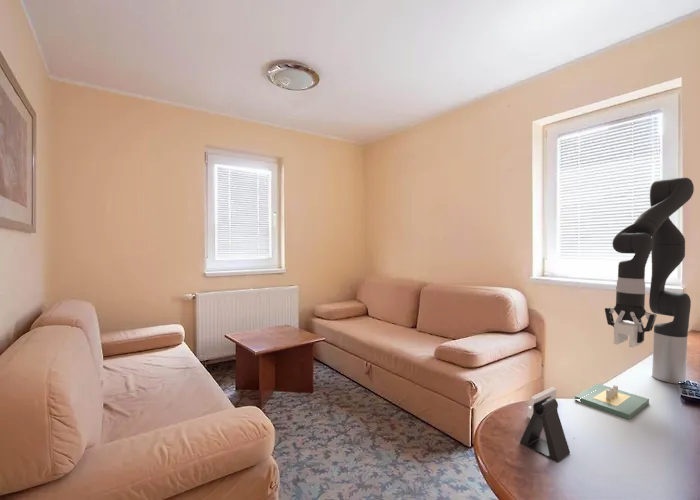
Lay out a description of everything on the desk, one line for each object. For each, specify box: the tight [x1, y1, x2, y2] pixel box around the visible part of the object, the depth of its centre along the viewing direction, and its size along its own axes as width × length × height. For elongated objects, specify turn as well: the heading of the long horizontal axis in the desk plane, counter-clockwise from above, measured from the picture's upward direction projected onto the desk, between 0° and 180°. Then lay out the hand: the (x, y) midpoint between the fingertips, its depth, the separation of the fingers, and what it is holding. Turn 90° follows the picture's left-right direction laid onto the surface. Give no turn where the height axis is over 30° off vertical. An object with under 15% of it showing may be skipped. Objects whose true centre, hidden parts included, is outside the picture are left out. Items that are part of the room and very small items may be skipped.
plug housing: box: [613, 320, 645, 348], centre depth 115 cm, size 10×5×7 cm, turn 125°
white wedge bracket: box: [527, 386, 557, 420], centre depth 96 cm, size 4×10×9 cm, turn 84°
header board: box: [574, 383, 650, 421], centre depth 108 cm, size 18×14×4 cm
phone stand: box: [519, 397, 571, 463], centre depth 83 cm, size 9×6×12 cm, turn 34°
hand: (628, 340), depth 115 cm, fingers closed on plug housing, 5 cm apart
